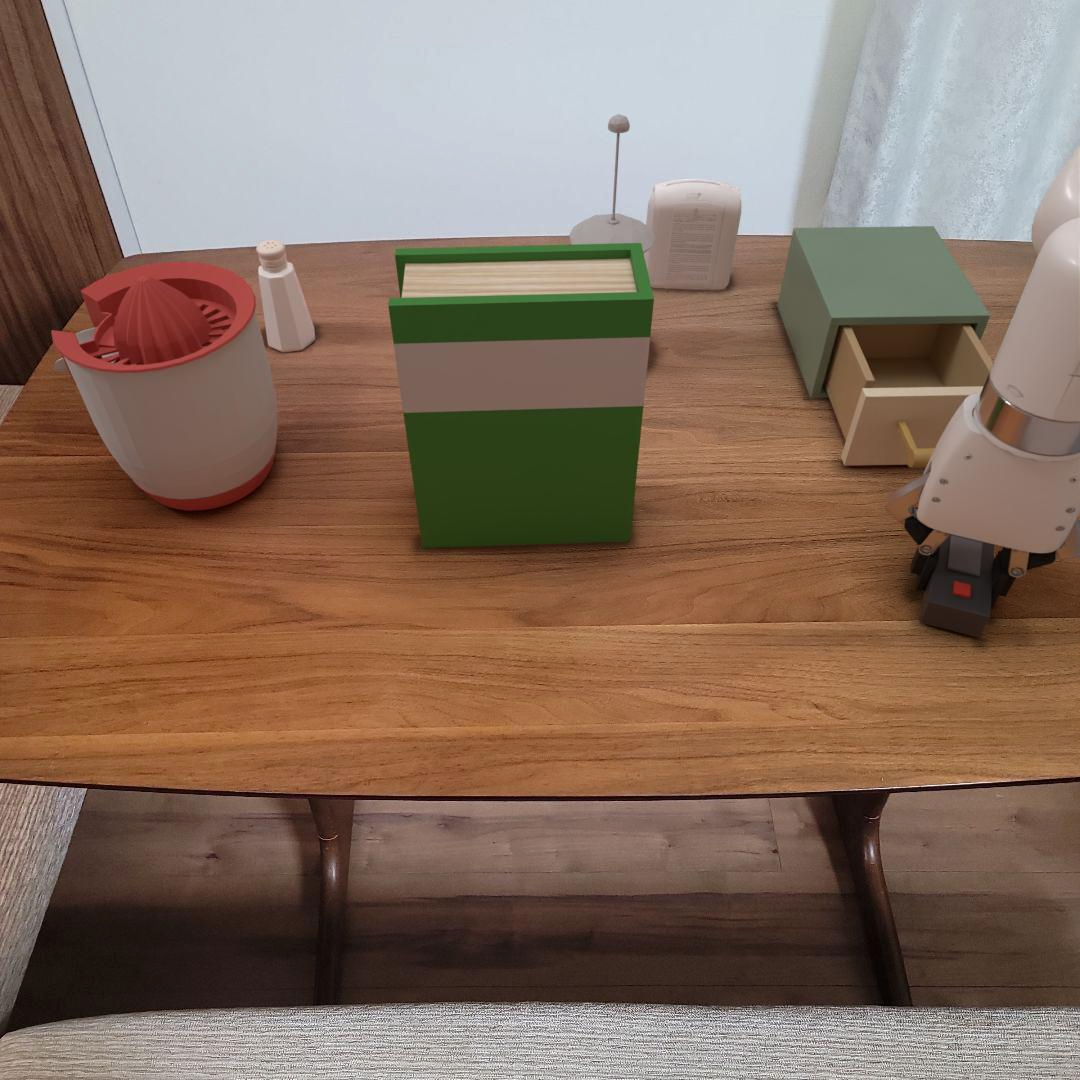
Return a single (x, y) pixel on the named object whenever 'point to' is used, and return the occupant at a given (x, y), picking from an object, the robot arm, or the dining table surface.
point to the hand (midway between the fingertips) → (954, 585)
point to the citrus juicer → (177, 381)
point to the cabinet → (868, 288)
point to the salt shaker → (283, 300)
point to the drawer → (901, 387)
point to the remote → (960, 587)
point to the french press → (613, 213)
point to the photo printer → (692, 233)
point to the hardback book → (523, 389)
